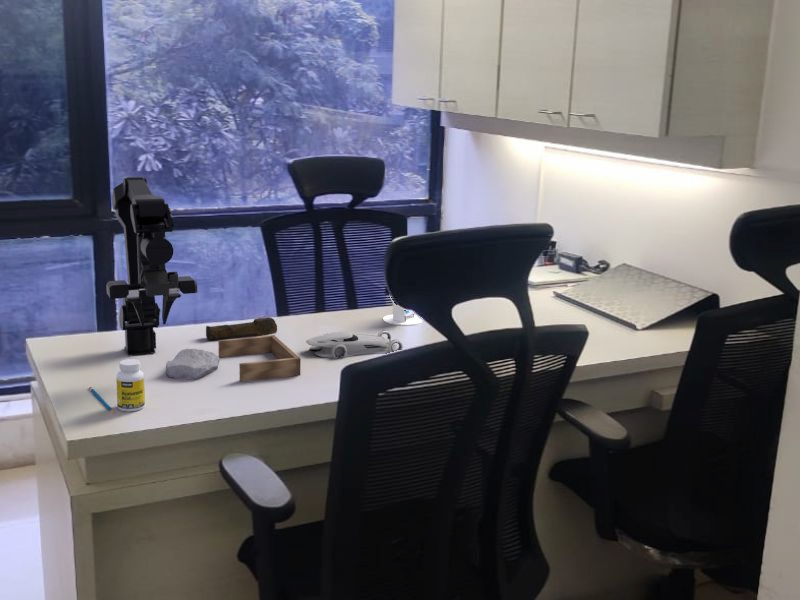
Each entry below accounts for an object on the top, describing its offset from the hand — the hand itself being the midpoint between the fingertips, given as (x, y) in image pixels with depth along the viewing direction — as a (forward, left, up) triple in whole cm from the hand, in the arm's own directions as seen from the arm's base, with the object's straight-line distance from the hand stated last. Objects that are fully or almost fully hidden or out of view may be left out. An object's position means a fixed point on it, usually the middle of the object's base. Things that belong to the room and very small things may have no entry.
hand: (153, 324), depth 200 cm
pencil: (-13, -12, -13) cm, 22 cm away
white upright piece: (+74, +26, -12) cm, 79 cm away
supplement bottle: (-8, -18, -12) cm, 23 cm away
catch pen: (+24, 0, -12) cm, 27 cm away
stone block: (+9, +1, -12) cm, 15 cm away
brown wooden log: (+27, +25, -12) cm, 39 cm away
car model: (+50, +4, -13) cm, 52 cm away
